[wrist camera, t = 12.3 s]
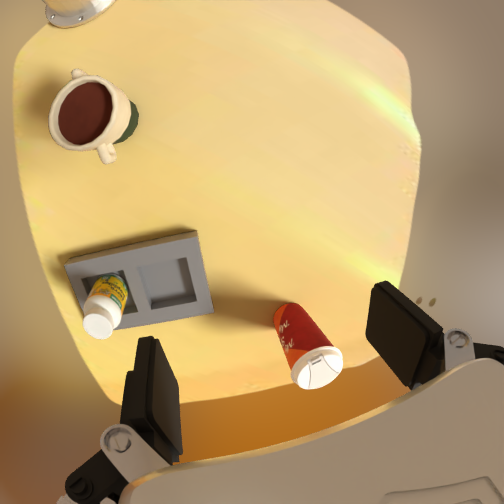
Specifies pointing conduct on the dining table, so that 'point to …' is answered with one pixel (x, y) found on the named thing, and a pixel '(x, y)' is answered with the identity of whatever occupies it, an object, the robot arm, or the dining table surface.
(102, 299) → the supplement bottle
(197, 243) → the drink carrier
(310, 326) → the paper cup
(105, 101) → the character mug
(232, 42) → the dining table surface
